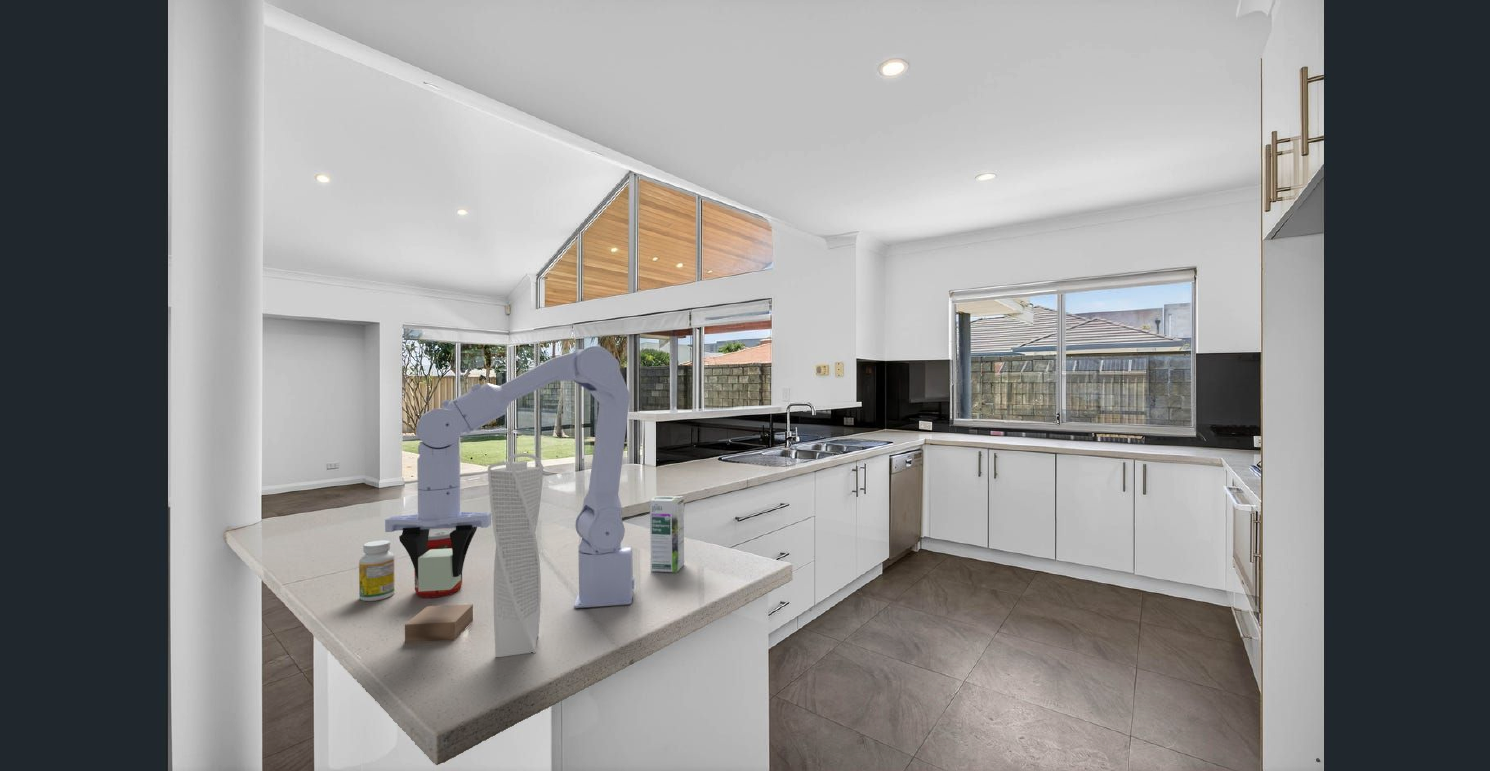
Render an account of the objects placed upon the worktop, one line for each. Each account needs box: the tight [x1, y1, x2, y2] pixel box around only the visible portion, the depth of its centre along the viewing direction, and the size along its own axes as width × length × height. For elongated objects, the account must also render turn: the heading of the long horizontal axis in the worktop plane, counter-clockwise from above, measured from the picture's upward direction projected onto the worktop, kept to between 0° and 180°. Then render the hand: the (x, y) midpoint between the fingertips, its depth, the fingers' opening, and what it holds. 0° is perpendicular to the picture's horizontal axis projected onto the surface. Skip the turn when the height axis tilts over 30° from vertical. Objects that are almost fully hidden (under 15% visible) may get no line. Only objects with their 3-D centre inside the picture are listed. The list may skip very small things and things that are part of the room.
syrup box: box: [649, 495, 685, 573], centre depth 116 cm, size 6×6×14 cm
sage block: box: [418, 548, 461, 592], centre depth 87 cm, size 4×4×5 cm
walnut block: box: [404, 604, 474, 644], centre depth 86 cm, size 7×7×3 cm
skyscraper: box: [487, 452, 544, 658], centre depth 81 cm, size 8×8×28 cm
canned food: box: [413, 528, 463, 599], centre depth 104 cm, size 8×8×11 cm
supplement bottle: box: [358, 539, 396, 602], centre depth 102 cm, size 5×5×10 cm
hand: (439, 575), depth 86 cm, fingers closed on sage block, 4 cm apart
